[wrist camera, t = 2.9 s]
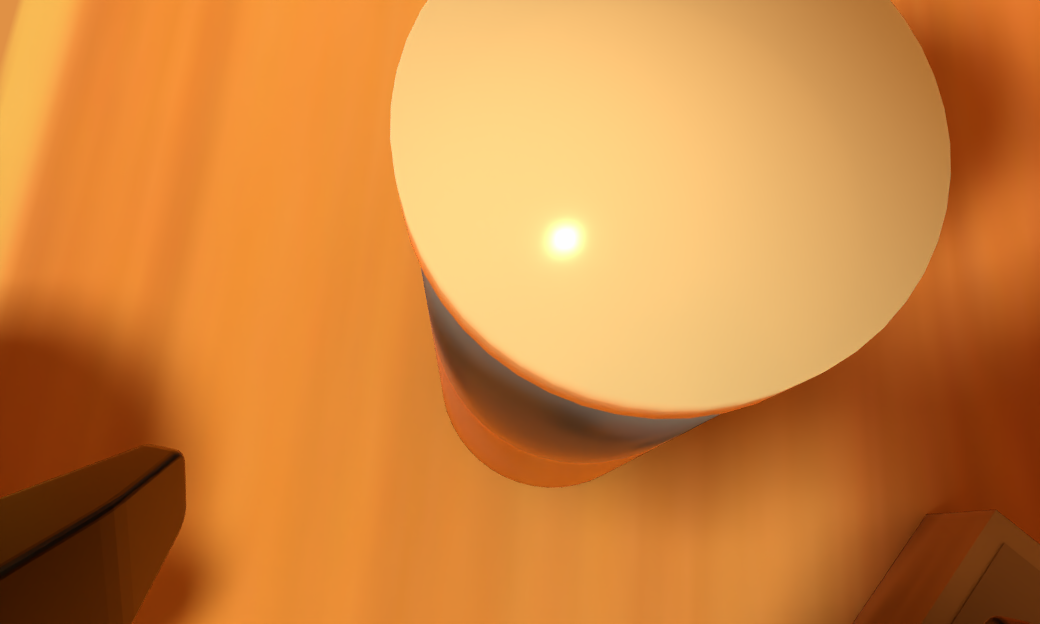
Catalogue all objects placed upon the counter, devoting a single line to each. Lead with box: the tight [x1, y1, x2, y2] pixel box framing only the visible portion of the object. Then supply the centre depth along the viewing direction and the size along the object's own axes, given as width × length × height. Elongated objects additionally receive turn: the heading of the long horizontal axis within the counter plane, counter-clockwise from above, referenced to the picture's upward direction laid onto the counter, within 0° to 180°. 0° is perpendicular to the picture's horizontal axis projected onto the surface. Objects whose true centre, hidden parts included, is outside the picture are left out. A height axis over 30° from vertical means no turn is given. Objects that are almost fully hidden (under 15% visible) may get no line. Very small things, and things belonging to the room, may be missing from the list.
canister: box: [390, 0, 951, 488], centre depth 16 cm, size 6×6×14 cm
